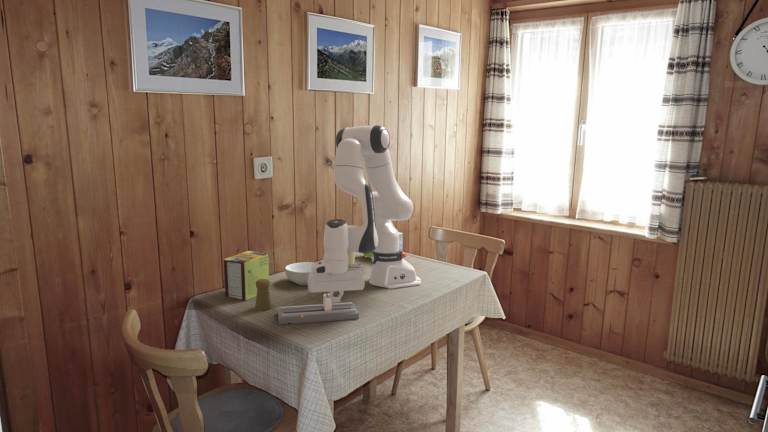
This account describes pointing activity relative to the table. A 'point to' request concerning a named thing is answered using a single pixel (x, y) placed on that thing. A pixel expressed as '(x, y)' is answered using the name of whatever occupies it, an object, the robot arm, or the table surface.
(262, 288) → the cork
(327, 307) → the fader tab
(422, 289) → the table surface
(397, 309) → the table surface
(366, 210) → the robot arm
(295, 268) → the cereal bowl
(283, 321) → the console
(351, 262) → the coffee cup
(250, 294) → the protein box
